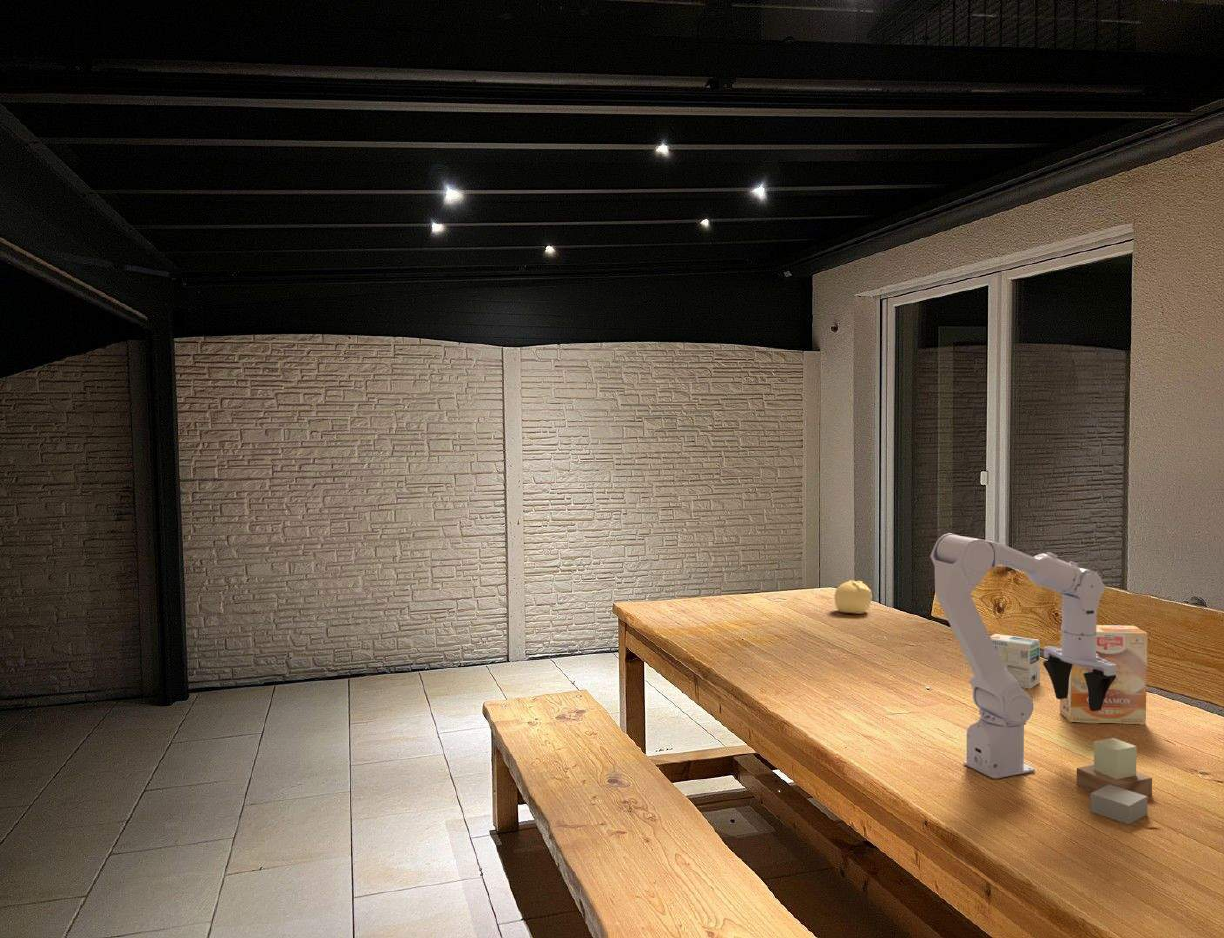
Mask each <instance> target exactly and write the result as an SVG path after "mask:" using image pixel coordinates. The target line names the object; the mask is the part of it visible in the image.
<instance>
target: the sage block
mask: <svg viewBox="0 0 1224 938" xmlns="http://www.w3.org/2000/svg"><path fill="white" fill-rule="evenodd" d="M1137 749H1138V748H1137V745H1134V744H1131V743H1128V742H1125V741H1122V740H1120V739H1118V738H1115V737H1111V738H1106V739H1100V740H1096V741H1095V740H1094V741H1093V765H1094V770H1095V771H1097V772H1100V773H1102V774H1105V775H1107V776H1110V777H1112V778H1114V779H1121V778H1126V777H1131V776H1135V775H1136V772H1137Z"/></svg>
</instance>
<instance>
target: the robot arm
mask: <svg viewBox="0 0 1224 938" xmlns="http://www.w3.org/2000/svg"><path fill="white" fill-rule="evenodd" d="M929 557H930V559H931V561H932V563H933V567H934V591H935V592H934V593H935V596H936V599H937V600H938V603H939V605H940V606H941V609H942V611H943V613H944V616H945V617H946V619H947V621H948V623H949V626H950V627H951V630H952V632H953V633H954V635H955V638H956V640H957V642H958V645H959V647H960V648H961V650H962V652H963V655H964V656H965V659H966V661H967V663H968V665H969V667H970V669H971V672H972V673H973V675H972V676H971V677H970V680H969V683H970V686H971V688H972V699H973V703H974V705H975V706H976V707H977V708H978V709H979V715H980V718H979V720H978V721H977V722H975V723H974V722H973V723H972V724H970V725H969V727H968V728H967V730H966V760H964V761H963V765H965V766H966V767H969V768H971V769H973V770H975V771H978V772H979V773H981V774H983V775H986V777H987V776H988V777H989V778H992V779H995V780H996V779H1001V778H1006V777H1011V776H1016V775H1022V774H1028V773H1033V772H1036V769H1035V768H1034V767H1032V766H1031V765H1028V764H1026V763H1025V759H1024V757H1025V756H1024V754H1025V753H1024V752H1025V751H1024V749H1025V748H1024V746H1025V743H1024V742H1025V725H1027V721H1028V720H1029V719H1030V718H1031V716H1032V715H1033V711H1034V700H1033V698H1032V696H1031V695H1030V694H1029V692H1027V691H1025V690H1024V688H1023V687H1021V686H1020V684H1019V682H1018V681H1017V680H1016V679H1015V678H1014V677H1013V676H1012V675H1011V674H1010V673H1009V672H1008V671H1007V670H1006V669H1005V667H1004V665H1003V663H1002V661H1001V659H1000V657H999V655H998V652H997V650H996V648H995V646H994V644H993V642H992V640H991V638H990V636H991V635H990V634H989V631H988V629H987V627H986V625H985V623H984V621H983V619H982V617H981V614H980V612H979V610H978V608H977V607H976V604H975V602H974V600H973V598H972V592H973V591H975V589H976V588H977V587H978V585H979V584H980V583H981V581H982V580H983V579H984V577H985V576H986V575H987V574H988V572H989V571H990V569H991V568H994V569H996V568H997V567H999V565H1002V566H1003V567H1008V568H1011V569H1013V570H1017V571H1018V572H1023V573H1026V576H1027V579H1029V581H1030V582H1031V583H1032V584H1035V585H1038V586H1039V587H1040V586H1041V587H1042V588H1043V587H1044V588H1046V589H1049V590H1051V591H1054V592H1056V593H1058V594H1059V595H1060V596H1061V597H1062V598H1061V599H1062V600H1061V602H1062V603H1061V624H1062V648H1061V647H1057V646H1053V645H1050V646H1043V657H1044V658H1047V660H1043V661H1042V662H1043V663H1042V665H1043V666H1044V668H1045V670H1046V672H1047V674H1048V676H1049V678H1050V681H1051V684H1052V686H1053V691H1054V694H1055V698H1056V700H1060V699H1064V698H1067V696H1068V688H1069V677H1070V672H1071V668H1072V665H1073V664H1074V665H1077V666H1080V667H1084V668H1087V669H1090V670H1093V672H1088V673H1084V677H1085V680H1086V683H1087V687H1088V694H1089V708H1090V710H1091V711H1098V710H1101V708H1102V705H1103V701H1104V698H1105V696H1106V693H1107V691H1108V689H1109V687H1110V685H1111V684H1112V682H1113V681H1114V680H1115V678H1116V664H1113V663H1110V662H1108V661H1106V660H1104V659H1102V658H1100V657H1098V654H1096V629H1097V625H1098V624H1097V621H1098V620H1097V617H1098V616H1097V615H1098V611H1097V610H1099V607H1100V599H1101V598H1102V596H1103V595H1104V593H1105V589H1106V584H1104V583H1103V580H1102V578H1101V576H1100V575H1099V573H1098V572H1096V571H1095V570H1092V569H1087V568H1084V567H1083V568H1082V567H1079V564H1078V562H1074V561H1068V562H1067V561H1066V560H1062V559H1059V558H1058V554H1056V553H1053V552H1049V551H1047V552H1046V553H1039V554H1037V555H1034V556H1033V555H1029V554H1028V553H1027V554H1026V553H1025V552H1022V551H1020V550H1017V549H1015V548H1012V547H1010V546H1007V545H1005V544H1003V543H1000V542H995V541H991V540H988V539H987V540H986V539H980V538H975V537H970V536H961V535H958V534H955V533H950V532H949V533H945V534H943V535H941V536H940V537H939V538H938V539H937V540H936V542H935V544H934V545H933V549H932V550H931V554H930V556H929Z"/></svg>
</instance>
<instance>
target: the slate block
mask: <svg viewBox="0 0 1224 938" xmlns="http://www.w3.org/2000/svg"><path fill="white" fill-rule="evenodd" d="M1089 800H1090V802H1089V804H1090V806H1089V807H1090V813H1093V814H1096V815H1099V816H1102V817H1105V818H1109V819H1111V820H1113V821H1114V820H1115V821H1117V822H1120V823H1124V824H1126V825H1129V826H1130V825H1131V824H1133V823H1135V822H1136V821H1138V820H1140V819H1141V818H1144V817H1145V816H1148V796H1145V795H1142V794H1138V793H1135V792H1132V791H1129V790H1126V789H1122V788H1119V787H1116V786H1113V785H1107V786H1105V787H1103V788H1101V789H1099V790H1097V791H1095V792H1091V793H1090V799H1089Z"/></svg>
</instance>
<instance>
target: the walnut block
mask: <svg viewBox="0 0 1224 938" xmlns="http://www.w3.org/2000/svg"><path fill="white" fill-rule="evenodd" d="M1078 785H1079V786H1078ZM1107 785H1113V786H1116V787H1119V788H1122V789H1126V790H1129V791H1132V792H1135V793H1138V794H1142V795H1145V796H1147V797H1150V796H1149V795H1151V796H1152V795H1153V777H1151V776H1148V775H1146V774H1144V773H1141V772H1139V771H1136V775H1135V776H1131V777H1126V778H1121V779H1114V778H1112V777H1110V776H1107V775H1105V774H1102V773H1100V772H1097V771H1095V770H1094V764H1091V765H1085V766H1081V767H1080V766H1079V767H1076V786H1078V787H1080V786H1081V787H1080V788H1083V789H1085V788H1086V789H1085V790H1087V789H1088V790H1087V791H1089V790H1090V791H1089V792H1091V793H1092V792H1095V791H1097V790H1099V789H1101V788H1103V787H1105V786H1107Z"/></svg>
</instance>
